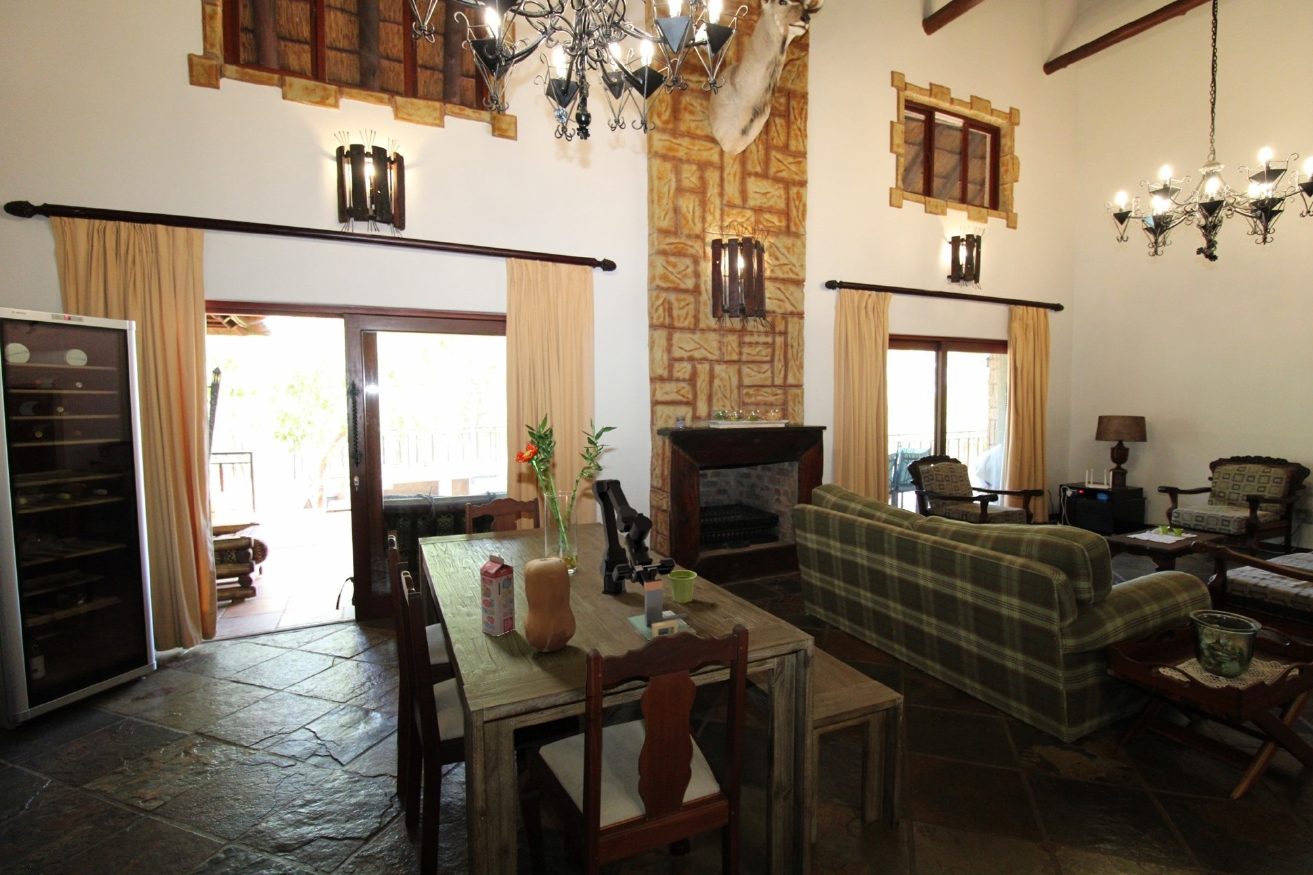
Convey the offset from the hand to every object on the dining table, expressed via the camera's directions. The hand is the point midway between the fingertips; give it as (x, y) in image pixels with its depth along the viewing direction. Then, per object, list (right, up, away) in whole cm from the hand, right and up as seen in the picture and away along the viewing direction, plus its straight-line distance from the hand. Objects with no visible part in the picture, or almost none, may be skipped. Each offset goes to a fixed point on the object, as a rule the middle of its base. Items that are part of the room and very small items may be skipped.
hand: (652, 595), depth 178 cm
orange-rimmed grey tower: (+5, -8, -1) cm, 10 cm away
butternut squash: (-27, -11, -14) cm, 33 cm away
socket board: (+3, -9, 0) cm, 10 cm away
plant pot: (+10, -8, +22) cm, 26 cm away
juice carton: (-45, -10, -1) cm, 46 cm away
